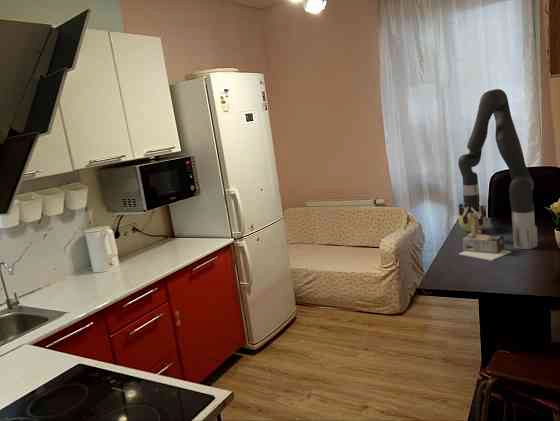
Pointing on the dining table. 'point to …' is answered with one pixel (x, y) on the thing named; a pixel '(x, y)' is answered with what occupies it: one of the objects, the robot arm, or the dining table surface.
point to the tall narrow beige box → (474, 226)
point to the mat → (485, 254)
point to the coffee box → (483, 243)
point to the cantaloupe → (468, 225)
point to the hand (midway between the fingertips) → (473, 224)
